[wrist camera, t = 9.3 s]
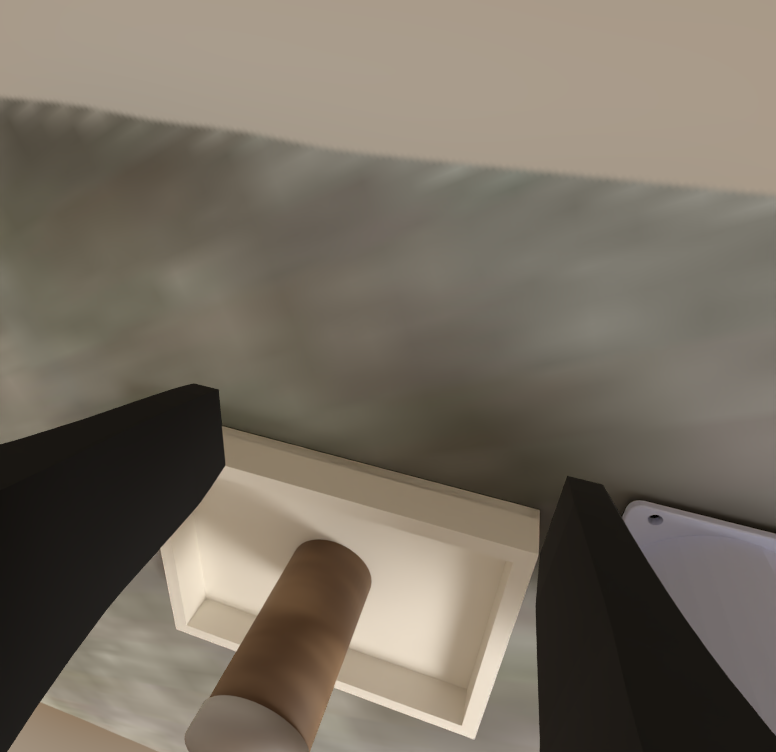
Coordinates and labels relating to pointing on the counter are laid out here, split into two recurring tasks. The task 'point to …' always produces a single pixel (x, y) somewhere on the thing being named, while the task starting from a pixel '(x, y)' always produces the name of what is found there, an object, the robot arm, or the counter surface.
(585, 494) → the robot arm
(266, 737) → the shaker
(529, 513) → the tray
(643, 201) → the counter surface
